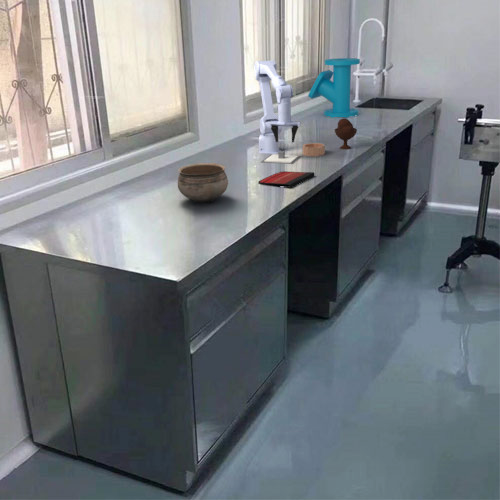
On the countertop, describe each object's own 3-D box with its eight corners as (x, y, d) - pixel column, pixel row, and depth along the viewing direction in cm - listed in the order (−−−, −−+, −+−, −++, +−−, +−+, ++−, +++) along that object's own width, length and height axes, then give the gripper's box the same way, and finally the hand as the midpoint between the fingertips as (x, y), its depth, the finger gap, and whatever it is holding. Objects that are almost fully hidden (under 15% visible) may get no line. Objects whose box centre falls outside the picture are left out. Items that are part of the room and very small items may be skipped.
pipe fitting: (350, 118, 374) (352, 61, 360) (305, 115, 389) (305, 60, 376) (363, 112, 391) (365, 58, 378) (319, 110, 407) (320, 58, 393)
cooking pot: (215, 212, 207) (213, 178, 203) (167, 208, 213) (164, 176, 208) (238, 192, 229) (236, 161, 224) (194, 189, 235) (191, 159, 230)
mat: (260, 163, 271) (260, 162, 271) (270, 155, 285) (270, 154, 285) (293, 165, 266) (293, 164, 266) (302, 157, 280) (302, 156, 280)
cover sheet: (264, 161, 272) (264, 154, 271) (272, 155, 283) (272, 148, 282) (291, 163, 268) (290, 155, 266) (298, 156, 279) (298, 149, 277)
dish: (300, 156, 281) (300, 147, 279) (306, 151, 290) (306, 142, 288) (321, 157, 277) (321, 148, 276) (326, 152, 286) (326, 143, 285)
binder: (314, 171, 246) (289, 184, 230) (314, 177, 247) (290, 190, 231) (281, 169, 255) (255, 181, 239) (282, 174, 256) (256, 186, 240)
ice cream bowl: (356, 150, 288) (357, 119, 283) (333, 150, 291) (333, 120, 285) (356, 145, 298) (357, 116, 292) (334, 145, 300) (335, 116, 295)
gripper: (267, 113, 266) (267, 143, 271) (298, 113, 262) (298, 143, 267) (270, 111, 272) (271, 140, 277) (301, 111, 269) (301, 140, 274)
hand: (285, 141), depth 273 cm, fingers open, 7 cm apart
